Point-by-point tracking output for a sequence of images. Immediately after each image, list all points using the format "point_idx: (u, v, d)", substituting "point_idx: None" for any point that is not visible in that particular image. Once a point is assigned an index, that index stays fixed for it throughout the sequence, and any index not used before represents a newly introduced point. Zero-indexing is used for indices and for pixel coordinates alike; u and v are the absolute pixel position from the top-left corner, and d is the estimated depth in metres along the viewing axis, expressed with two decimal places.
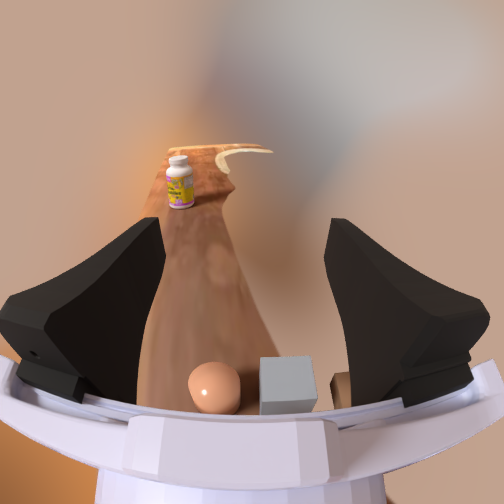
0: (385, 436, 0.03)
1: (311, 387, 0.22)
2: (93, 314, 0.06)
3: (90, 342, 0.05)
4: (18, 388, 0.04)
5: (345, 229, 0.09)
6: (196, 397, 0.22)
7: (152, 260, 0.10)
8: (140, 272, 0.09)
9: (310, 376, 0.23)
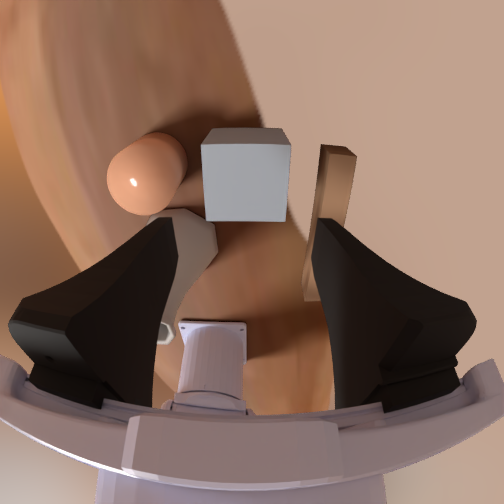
0: (385, 436, 0.03)
1: (279, 204, 0.16)
2: (112, 316, 0.06)
3: (110, 345, 0.05)
4: (18, 388, 0.04)
5: (330, 229, 0.09)
6: (124, 207, 0.17)
7: (166, 260, 0.10)
8: (155, 272, 0.09)
9: (282, 185, 0.16)
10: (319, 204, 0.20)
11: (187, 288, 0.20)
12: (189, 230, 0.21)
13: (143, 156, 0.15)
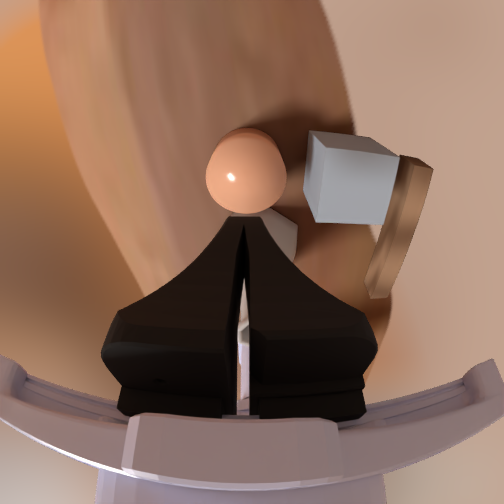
0: (385, 436, 0.03)
1: (382, 209, 0.16)
2: (232, 324, 0.06)
3: (231, 356, 0.05)
4: (18, 388, 0.04)
5: (247, 227, 0.09)
6: (222, 204, 0.17)
7: (242, 261, 0.10)
8: (239, 274, 0.09)
9: (387, 192, 0.16)
10: (396, 209, 0.20)
11: None
12: (279, 230, 0.21)
13: (255, 151, 0.15)
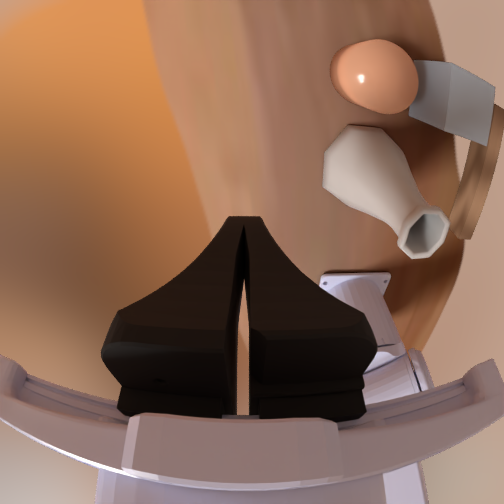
0: (385, 436, 0.03)
1: (486, 130, 0.12)
2: (232, 323, 0.06)
3: (231, 356, 0.05)
4: (18, 388, 0.04)
5: (247, 227, 0.09)
6: (361, 98, 0.13)
7: (242, 261, 0.10)
8: (239, 274, 0.09)
9: (489, 115, 0.11)
10: (481, 144, 0.16)
11: None
12: (394, 148, 0.17)
13: (395, 53, 0.11)
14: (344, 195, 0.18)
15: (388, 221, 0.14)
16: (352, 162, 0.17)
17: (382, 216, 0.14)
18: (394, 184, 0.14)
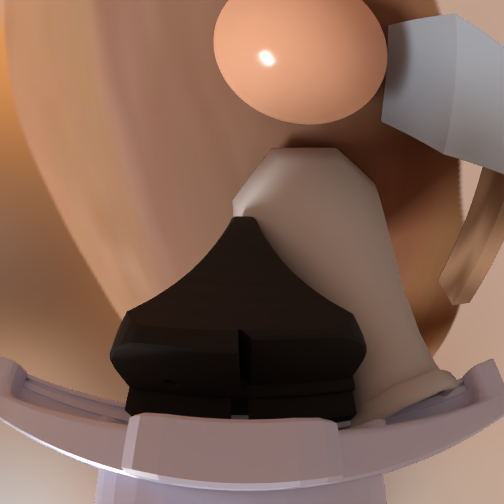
0: (385, 436, 0.03)
1: None
2: None
3: None
4: (18, 388, 0.04)
5: (240, 227, 0.09)
6: (248, 98, 0.07)
7: None
8: None
9: None
10: None
11: None
12: (360, 186, 0.10)
13: None
14: None
15: None
16: (273, 227, 0.10)
17: None
18: (350, 296, 0.07)
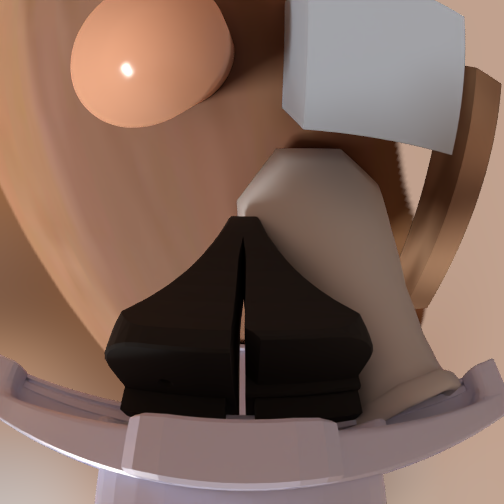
0: (385, 436, 0.03)
1: (449, 116, 0.06)
2: (236, 324, 0.06)
3: (235, 356, 0.05)
4: (18, 388, 0.04)
5: (244, 227, 0.09)
6: (98, 113, 0.06)
7: None
8: (241, 274, 0.09)
9: (455, 79, 0.05)
10: None
11: None
12: (365, 187, 0.10)
13: None
14: None
15: None
16: (277, 227, 0.10)
17: None
18: (356, 297, 0.07)
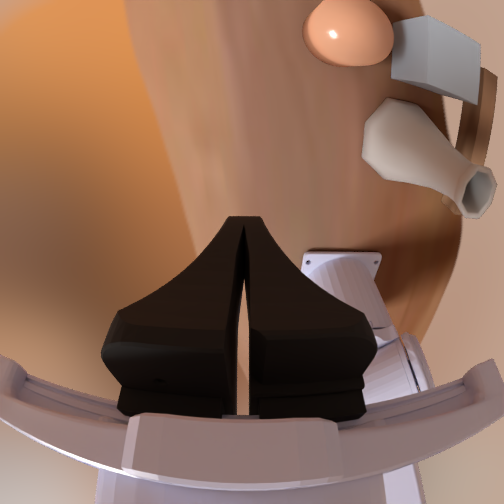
0: (385, 436, 0.03)
1: (475, 87, 0.10)
2: (232, 323, 0.06)
3: (232, 356, 0.05)
4: (18, 388, 0.04)
5: (247, 227, 0.09)
6: (330, 49, 0.11)
7: (242, 261, 0.10)
8: (239, 274, 0.09)
9: (476, 72, 0.10)
10: (473, 111, 0.14)
11: None
12: None
13: (365, 6, 0.09)
14: (388, 163, 0.16)
15: (440, 182, 0.12)
16: (396, 130, 0.15)
17: (432, 178, 0.13)
18: (442, 148, 0.12)
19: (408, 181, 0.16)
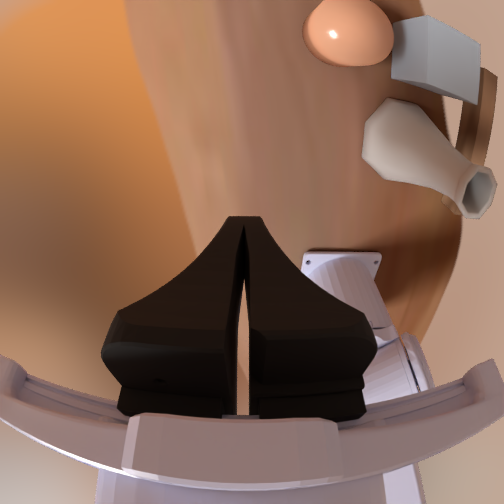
0: (385, 436, 0.03)
1: (475, 87, 0.10)
2: (232, 323, 0.06)
3: (232, 356, 0.05)
4: (18, 388, 0.04)
5: (247, 227, 0.09)
6: (331, 49, 0.11)
7: (242, 261, 0.10)
8: (239, 274, 0.09)
9: (476, 72, 0.10)
10: (473, 111, 0.14)
11: None
12: None
13: (365, 6, 0.09)
14: (388, 163, 0.16)
15: (440, 182, 0.12)
16: (396, 130, 0.15)
17: (433, 179, 0.13)
18: (442, 148, 0.12)
19: (408, 181, 0.16)
